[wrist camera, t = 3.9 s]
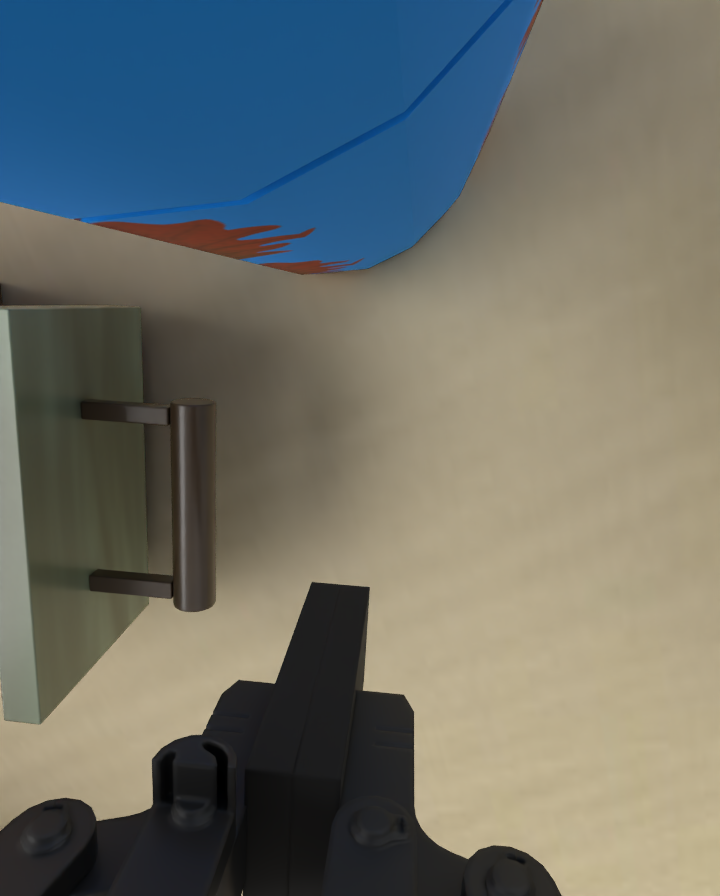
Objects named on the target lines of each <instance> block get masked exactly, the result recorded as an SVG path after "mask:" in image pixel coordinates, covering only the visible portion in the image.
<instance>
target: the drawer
mask: <svg viewBox="0 0 720 896" xmlns="http://www.w3.org/2000/svg"><path fill="white" fill-rule="evenodd" d="M144 424H151V425H164V426H168V425H170V427H171V485H172V544H173V576H169V575H159V574H148V556H147V519H146V483H145V446H144ZM149 597H157V598H167V599H171V598H172V597H173V602H174V606H175V607H176V608H177V609H179V610H181V611H185V612H199V611H203V610H206V609H209V608H210V607H212V606H213V605H214V603H215V601H216V403H215V401H212V400H209V399H201V398H182V399H175V400H172V401H171V402H170V405H168V404H154V403H143V374H142V337H141V308H140V307H135V306H118V305H51V306H0V680H1V691H2V701H3V712H4V720H5V721H14V722H23V723H31V724H42V722H43V721H44V720H45V719H46V718H47V717H48V716H49V715H50V714H51V712H52V711H53V710H54V709H55V708H56V707H57V706H58V705H59V703H60V702H61V701H62V700H63V699H64V698H65V697H66V696H67V695H68V693H69V692H70V691H71V690H72V689H73V688H74V687H75V686H76V685H77V683H78V682H79V681H80V680H81V679H82V678H83V677H84V676H85V674H86V673H87V672H88V671H89V670H90V669H91V668H92V667H93V666H94V664H95V663H96V662H97V661H98V660H99V659H100V658H101V657H102V656H103V654H104V653H105V652H106V651H107V650H108V649H109V648H110V647H111V645H112V644H113V643H114V642H115V641H116V640H117V639H118V638H119V637H120V635H121V634H122V633H123V632H124V631H125V630H126V629H127V628H128V627H129V625H130V624H131V623H132V622H133V621H134V620H135V619H136V618H137V616H138V615H139V614H140V613H141V612H142V611H143V610H144V609H145V608H146V606H147V605H148V604H149Z"/></svg>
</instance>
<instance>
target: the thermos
mask: <svg viewBox="0 0 720 896" xmlns="http://www.w3.org/2000/svg"><path fill="white" fill-rule="evenodd" d="M542 2H543V0H0V202H3V203H7V204H11V205H15V206H19V207H24V208H28V209H32V210H36V211H40V212H44V213H48V214H53V215H57V216H61V217H65V218H69V219H75V220H78V221H82V222H86V223H90V224H94V225H98V226H102V227H106V228H111V229H115V230H119V231H123V232H127V233H131V234H135V235H139V236H144V237H148V238H152V239H156V240H160V241H164V242H168V243H173V244H177V245H181V246H185V247H189V248H193V249H197V250H202V251H206V252H210V253H214V254H218V255H222V256H226V257H231V258H235V259H239V260H243V261H247V262H251V263H255V264H259V265H264V266H268V267H272V268H276V269H280V270H284V271H288V272H293V273H297V274H301V275H304V274H319V273H329V272H340V271H350V270H360V269H368V268H371V267H373V266H375V265H377V264H379V263H381V262H383V261H385V260H387V259H389V258H391V257H393V256H395V255H397V254H399V253H401V252H403V251H405V250H407V249H409V248H411V247H413V246H414V245H415V244H416V243H417V241H418V240H419V239H420V238H421V237H422V236H423V235H424V234H425V233H426V232H427V231H428V230H429V229H430V228H431V227H432V226H433V225H434V224H435V223H436V222H437V221H438V220H439V219H440V218H441V217H442V216H443V215H444V213H445V212H446V211H447V210H448V209H449V208H450V207H451V205H452V204H453V203H454V202H455V200H456V199H457V198H458V197H459V195H460V193H461V191H462V189H463V187H464V185H465V183H466V181H467V179H468V176H469V174H470V172H471V170H472V168H473V166H474V164H475V162H476V159H477V157H478V155H479V153H480V151H481V149H482V147H483V145H484V142H485V140H486V138H487V136H488V134H489V132H490V129H491V127H492V124H493V122H494V119H495V117H496V114H497V112H498V110H499V107H500V105H501V102H502V100H503V97H504V95H505V92H506V90H507V87H508V85H509V83H510V80H511V78H512V75H513V73H514V70H515V68H516V65H517V63H518V61H519V58H520V56H521V53H522V51H523V48H524V46H525V43H526V41H527V38H528V36H529V34H530V31H531V29H532V26H533V24H534V21H535V19H536V16H537V14H538V12H539V9H540V7H541V4H542Z"/></svg>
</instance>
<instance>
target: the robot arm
mask: <svg viewBox="0 0 720 896" xmlns="http://www.w3.org/2000/svg"><path fill="white" fill-rule="evenodd" d="M369 590H370V587H361V586H349V585H338V584H327V583H315V582H312V583H311V586H310V589H309V592H308V594H307V597H306V600H305V603H304V605H303V608H302V611H301V614H300V617H299V619H298V622H297V625H296V628H295V630H294V633H293V636H292V639H291V641H290V644H289V647H288V650H287V653H286V655H285V658H284V661H283V664H282V666H281V669H280V672H279V675H278V678H277V680H276V683H275V684H272V683H262V682H252V681H242V680H238V681H237V682H236V683H235V684H233V685H232V686H231V687H230V688H229V689H227V690H226V691H225V692H224V693H223V694H222V695H221V697H220V699H219V701H218V703H217V705H216V707H215V709H214V711H213V715H211V717H210V719H209V722H208V724H207V726H206V729H205V730H204V732H203V734H202V735H191V736H187V737H184V738H180V739H177V740H174V741H173V742H171V743H170V744H168V745H166V746H165V747H163V748H161V750H160V751H159V752H158V753H157V754H156V755H155V756H154V758H153V759H152V778H153V805H152V807H151V808H150V809H148V810H146V811H144V812H141V813H138V814H134V815H130V816H126V817H120V818H114V819H108V820H101V821H96V817H95V815H94V812H93V810H92V808H91V807H90V806H89V805H87V804H86V803H84V802H83V801H81V800H76V799H69V798H61V799H55V800H48V801H45V802H43V803H40V804H38V805H36V806H33V807H31V808H29V809H27V810H26V811H24V812H23V813H22V814H20V815H19V816H17V817H16V818H15V819H13V820H12V821H11V822H10V823H9V824H8V825H7V826H6V827H4V828H3V829H2V830H1V831H0V896H241V893H242V890H243V896H561V894H560V892H559V890H558V888H557V886H556V884H555V882H554V880H553V879H552V877H551V876H550V874H549V873H548V872H547V870H546V869H545V868H544V866H543V865H542V864H540V863H539V862H538V861H537V860H535V859H534V858H533V857H531V856H530V855H529V854H527V853H525V852H522V851H520V850H517V849H515V848H512V847H506V846H494V845H493V846H490V847H487V848H483V849H480V850H478V851H477V852H476V853H475V854H474V855H473V856H471V857H470V858H469V859H466V858H464V857H461V856H459V855H457V854H454V853H452V852H450V851H448V850H446V849H444V848H442V847H440V846H439V845H437V844H436V843H435V842H434V841H432V840H431V839H430V838H429V837H428V836H427V835H426V834H425V832H424V831H423V830H422V828H421V827H420V825H419V823H418V821H417V818H416V815H415V808H414V711H413V710H412V708H411V706H410V704H409V703H408V701H407V699H406V698H405V696H404V695H400V694H390V693H380V692H370V691H362V690H363V682H364V668H365V653H366V637H367V621H368V606H369Z"/></svg>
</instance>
